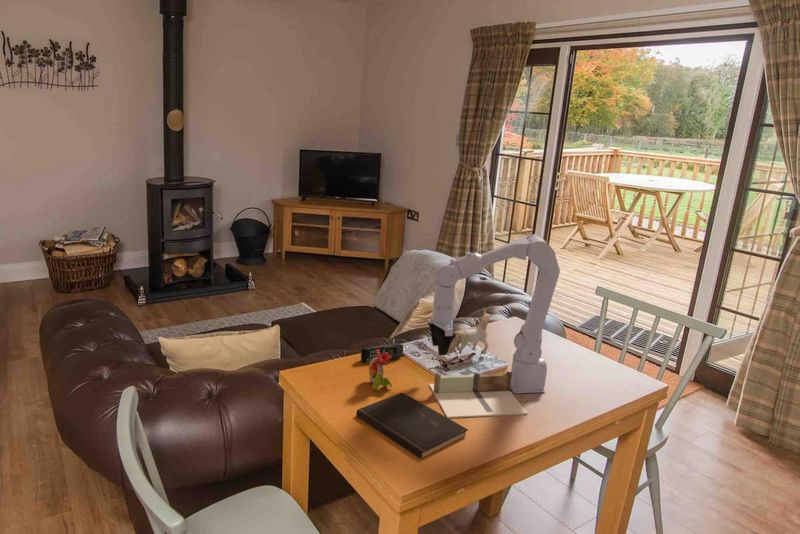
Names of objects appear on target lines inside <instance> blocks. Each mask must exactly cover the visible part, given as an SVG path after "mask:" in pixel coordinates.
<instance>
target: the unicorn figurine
mask: <svg viewBox="0 0 800 534" xmlns="http://www.w3.org/2000/svg"><path fill="white" fill-rule="evenodd" d="M490 318H491V313H487V311H486V308H485V307H483V315H482V319H481V320H480V321H479V322H478V324H477V325H475V326H474V327H471V328H470V329H466V328H465V329H461V330H460V331H454V332H455V333H456V337H455V338H454V339H453V340H452V342H451V344H450V346H449V349H448V352H447V354H449V355H451V354H453V353H454V352H455V350H456V351H457V350H459V354H461V355H462V352H463V350H464V349H465V347H467V345H468V344H469V343H470V344H473V346H472V348H471V350H475V351H476V346H477V344H478V343H479V342H481V343H483V345H484V348H483V349H482V350H481V351H480V352H481V353H480V354H485V355H486V353H487V350H488V347H489V346H490V345H489V343H488V341H487V337H488V331H487V326H488V325H489V322H490ZM460 344H461V345H460Z"/></svg>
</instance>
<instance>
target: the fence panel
mask: <svg viewBox="0 0 800 534" xmlns="http://www.w3.org/2000/svg"><path fill="white" fill-rule="evenodd" d="M473 381H474V374H464V375H462V374H461V375H458V374H457V375H442V374H441V373H440V372H439V373H438V372H436V373H435V374H434V382H433V384H434V392H435V393H442V392H468V391H472V389H473Z"/></svg>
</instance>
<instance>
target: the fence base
mask: <svg viewBox="0 0 800 534" xmlns="http://www.w3.org/2000/svg"><path fill="white" fill-rule="evenodd" d="M473 376H474V381H473V389H472V391H474V392H478V391H494V390H506V391H510V392H511V388H510V385H511V377H512V373H511V371H506V372H505V373H498V374H497V373H493V374H481V373H479V372H474V374H473Z"/></svg>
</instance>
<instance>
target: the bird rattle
mask: <svg viewBox="0 0 800 534" xmlns="http://www.w3.org/2000/svg"><path fill="white" fill-rule="evenodd" d="M376 353H377V355H378V358H377V357H376V358H373V359H372V360H371V362H369V367H368V375H369V382H370V383H372V389H374V390H375V391H378V389H379V388H380V386H383V387H388V386H389V387H390V388H392V387H393V386H392V383H391V380H390V379H389V378H388V377H384V371H385V367H384V366H388V363H387V362H389V361H390V360H389V359H390V358H391V357H392V356H390V355H388V354H387V352H384V353H383V354H382V355H381V354H380V352H379V349H377V351H376Z"/></svg>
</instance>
